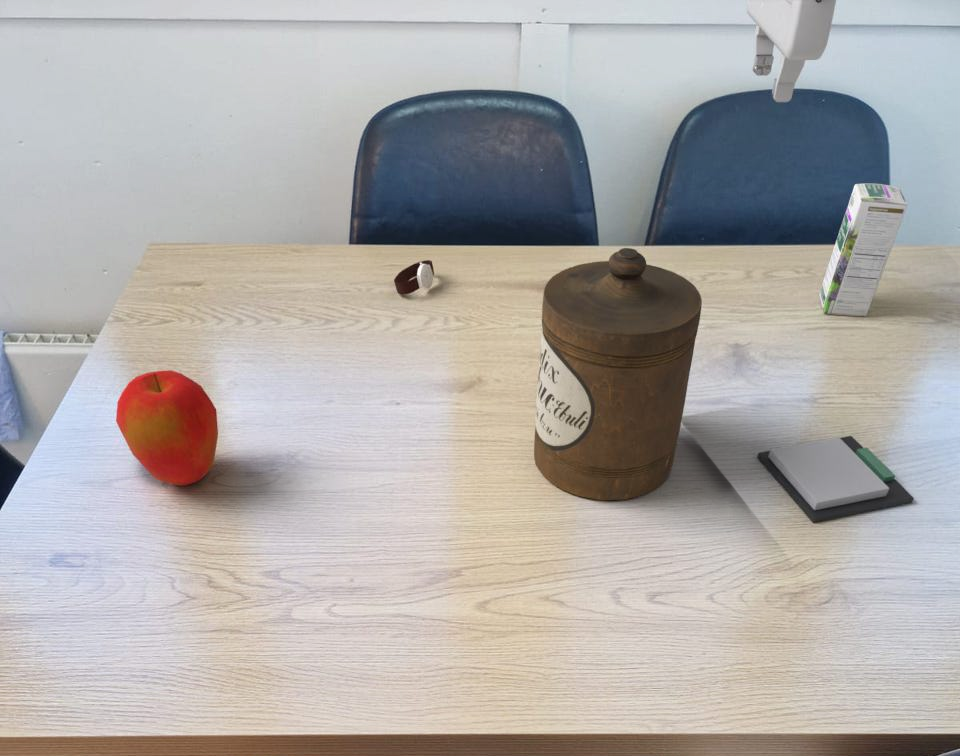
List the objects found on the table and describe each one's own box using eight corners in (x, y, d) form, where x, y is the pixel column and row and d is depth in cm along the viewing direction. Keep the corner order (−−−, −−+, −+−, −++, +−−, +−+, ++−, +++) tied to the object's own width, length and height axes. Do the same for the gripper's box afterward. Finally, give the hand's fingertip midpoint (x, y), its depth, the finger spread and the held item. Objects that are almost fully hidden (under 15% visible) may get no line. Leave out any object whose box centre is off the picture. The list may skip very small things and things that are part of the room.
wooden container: (524, 422, 97) (535, 220, 80) (654, 416, 98) (690, 215, 81) (543, 506, 87) (559, 294, 71) (687, 498, 88) (735, 288, 72)
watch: (416, 302, 116) (415, 276, 113) (386, 295, 117) (384, 268, 114) (442, 279, 120) (442, 252, 118) (413, 272, 122) (411, 246, 119)
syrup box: (817, 294, 118) (852, 181, 107) (862, 297, 117) (901, 184, 107) (822, 314, 114) (859, 199, 103) (868, 317, 114) (910, 202, 103)
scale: (844, 454, 93) (854, 427, 91) (905, 517, 86) (918, 489, 83) (752, 471, 91) (760, 444, 88) (808, 537, 84) (818, 510, 81)
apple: (121, 491, 88) (81, 387, 79) (173, 443, 94) (142, 341, 85) (198, 513, 86) (167, 408, 77) (247, 463, 91) (223, 359, 82)
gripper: (870, -59, 76) (825, 117, 86) (810, -95, 90) (777, 60, 100) (798, -58, 76) (762, 117, 86) (750, -94, 90) (723, 60, 100)
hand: (770, 86), depth 93 cm, fingers open, 8 cm apart
